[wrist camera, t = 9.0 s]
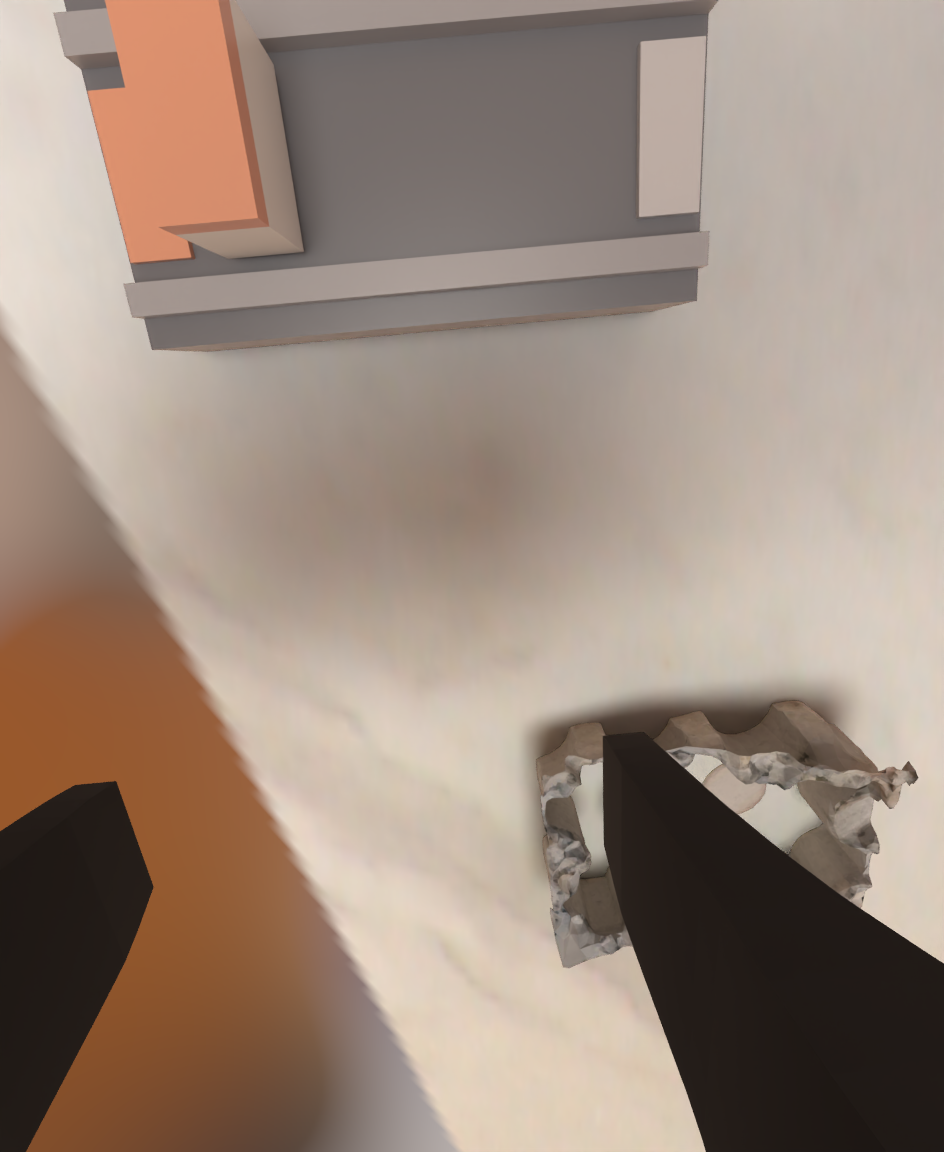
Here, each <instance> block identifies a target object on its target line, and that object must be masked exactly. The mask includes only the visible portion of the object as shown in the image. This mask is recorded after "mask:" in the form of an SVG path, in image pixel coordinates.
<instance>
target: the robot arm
mask: <svg viewBox="0 0 944 1152" xmlns="http://www.w3.org/2000/svg"><path fill="white" fill-rule="evenodd" d="M603 810H604V847H605V851H606V855H607V859H608V863H609V867H610V872H611V876H612V880H613V884H614V888H615V891H616V895H617V899H618V903H619V907H620V911H621V914H622V917H623V920H624V923H625V926H626V928H627V931H628V934H629V937H630V940H631V942H632V945H633V948H634V951H635V953H636V956H637V959H638V962H639V964H640V967H641V970H642V972H643V975H644V978H645V981H646V983H647V986H648V989H649V991H650V994H651V997H652V1000H653V1002H654V1005H655V1008H656V1010H657V1013H658V1016H659V1019H660V1021H661V1024H662V1027H663V1029H664V1032H665V1035H666V1038H667V1040H668V1043H669V1046H670V1048H671V1051H672V1054H673V1057H674V1059H675V1062H676V1065H677V1067H678V1070H679V1073H680V1076H681V1078H682V1081H683V1084H684V1086H685V1089H686V1092H687V1095H688V1098H689V1101H690V1104H691V1107H692V1110H693V1113H694V1116H695V1119H696V1122H697V1125H698V1128H699V1131H700V1134H701V1137H702V1140H703V1143H704V1147H705V1150H706V1152H944V963H942V962H940V961H939V960H937V959H936V958H934V957H933V956H931V955H930V954H928V953H927V952H925V951H923V950H922V949H920V948H919V947H917V946H916V945H914V944H913V943H911V942H910V941H908V940H907V939H905V938H904V937H902V936H901V935H899V934H898V933H896V932H895V931H893V930H892V929H890V928H889V927H887V926H886V925H884V924H883V923H881V922H880V921H878V920H877V919H875V918H874V917H872V916H871V915H869V914H868V913H866V912H865V911H863V910H862V909H860V908H859V907H858V906H856V905H855V904H853V903H852V902H850V901H849V900H848V899H846V898H845V897H843V896H842V895H840V894H839V893H838V892H836V891H835V890H833V889H832V888H831V887H829V886H828V885H827V884H825V883H824V882H823V881H821V880H820V879H819V878H817V877H816V876H815V875H813V874H812V873H811V872H809V871H808V870H807V869H805V868H804V867H803V866H801V865H800V864H799V863H797V862H796V861H795V860H793V859H792V858H791V857H789V856H788V855H787V854H785V853H784V852H783V851H781V850H780V849H779V848H778V847H776V846H775V845H774V844H773V843H771V842H770V841H769V840H768V839H766V838H765V837H764V836H763V835H762V834H760V833H759V832H758V831H757V830H756V829H754V828H753V827H752V826H751V825H750V824H748V823H747V822H746V821H745V820H743V819H742V818H741V817H740V816H739V815H737V814H736V813H735V812H734V811H733V810H731V809H730V808H729V807H728V806H727V805H725V804H724V803H723V802H722V801H721V800H720V799H719V798H717V797H716V796H715V795H714V794H713V793H712V792H710V791H709V790H708V789H707V788H706V787H705V786H704V785H703V784H701V783H700V782H699V781H698V780H697V779H696V778H695V777H694V776H692V775H691V774H690V773H689V772H688V771H687V770H686V769H685V768H684V767H682V766H681V765H680V764H679V763H678V762H677V761H676V760H675V759H674V758H672V757H671V756H670V755H669V754H668V753H667V752H666V751H665V750H664V749H663V748H661V747H660V746H659V745H658V744H657V743H656V742H655V741H654V740H652V739H651V738H650V737H649V736H648V735H647V734H646V733H644V732H638V733H628V734H617V735H606V736H603ZM152 890H153V884H152V881H151V878H150V876H149V873H148V870H147V867H146V864H145V861H144V859H143V856H142V853H141V850H140V847H139V845H138V842H137V839H136V837H135V834H134V831H133V828H132V825H131V822H130V819H129V816H128V813H127V811H126V808H125V805H124V802H123V799H122V797H121V794H120V791H119V788H118V785H117V782H116V781H114V782H103V783H92V784H81V785H75V786H73V787H71V788H69V789H67V790H65V791H64V792H62V793H60V794H59V795H57V796H55V797H53V798H52V799H50V800H48V801H47V802H45V803H43V804H42V805H40V806H39V807H37V808H36V809H34V810H32V811H31V812H30V813H28V814H26V815H25V816H23V817H21V818H20V819H18V820H17V821H15V822H14V823H12V824H11V825H9V826H8V827H6V828H5V829H3V830H2V831H0V1152H26V1150H27V1149H28V1147H29V1145H30V1143H31V1141H32V1139H33V1137H34V1135H35V1133H36V1131H37V1130H38V1128H39V1126H40V1124H41V1122H42V1120H43V1118H44V1116H45V1114H46V1112H47V1111H48V1109H49V1107H50V1105H51V1103H52V1101H53V1099H54V1097H55V1095H56V1094H57V1092H58V1090H59V1088H60V1086H61V1084H62V1082H63V1080H64V1078H65V1076H66V1075H67V1073H68V1071H69V1069H70V1067H71V1065H72V1063H73V1061H74V1059H75V1058H76V1056H77V1054H78V1052H79V1050H80V1048H81V1046H82V1044H83V1042H84V1040H85V1039H86V1037H87V1035H88V1033H89V1031H90V1029H91V1027H92V1025H93V1023H94V1021H95V1019H96V1018H97V1016H98V1014H99V1012H100V1010H101V1007H102V1006H103V1004H104V1002H105V1000H106V998H107V996H108V994H109V992H110V990H111V989H112V986H113V985H114V983H115V981H116V979H117V977H118V975H119V973H120V970H121V969H122V967H123V965H124V963H125V961H126V958H127V956H128V953H129V951H130V948H131V946H132V943H133V941H134V938H135V936H136V933H137V931H138V928H139V926H140V923H141V920H142V917H143V914H144V912H145V909H146V906H147V904H148V901H149V898H150V895H151V893H152Z"/></svg>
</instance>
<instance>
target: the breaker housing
mask: <svg viewBox="0 0 944 1152" xmlns="http://www.w3.org/2000/svg"><path fill="white" fill-rule="evenodd" d="M235 1H236V2H237V4H238V6H239V7H240V9H241V11H242V12H243V14H244V16H245V17H246V19H247V21H248V22H249V24H250V26H251V27H252V29H253V31H254V33H255V34H256V36H257V38H258V39H259V41H260V43H261V44H262V46H263V48H264V49H265V51H266V53H267V54H268V56H269V58H270V59H271V61H272V63H273V64H274V70H275V76H276V82H277V88H278V94H279V101H280V107H281V113H282V119H283V125H284V131H285V138H286V144H287V150H288V156H289V162H290V169H291V175H292V181H293V187H294V193H295V199H296V206H297V212H298V218H299V224H300V230H301V236H302V243H303V249H304V252H300V253H289V254H277V255H266V256H255V257H244V258H233V259H227V258H225V257H223V256H220V255H218V254H216V253H214V252H212V251H209V250H207V249H205V248H203V247H201V246H198V245H196V244H194V243H192V242H190V241H187V240H185V239H183V238H181V237H179V236H176V235H174V234H172V233H170V232H168V231H165V230H163V229H161V228H159V227H158V225H157V221H156V217H155V213H154V208H153V204H152V200H151V196H150V191H149V187H148V183H147V178H146V174H145V170H144V166H143V161H142V157H141V153H140V148H139V144H138V140H137V136H136V131H135V127H134V123H133V119H132V114H131V110H130V106H129V101H128V97H127V93H126V89H125V84H124V80H123V76H122V71H121V67H120V63H119V59H118V54H117V50H116V46H115V42H114V37H113V33H112V29H111V24H110V20H109V16H108V12H107V7H106V3H105V0H64V3H65V7H66V11H67V12H58V13H54V17H55V21H56V25H57V28H58V32H59V36H60V40H61V44H62V48H63V52H64V56H65V57H66V58H68V59H69V60H70V61H71V62H73V63H74V64H75V65H76V66H78V67H79V68H80V69H81V70H82V74H83V78H84V82H85V86H86V90H87V94H88V98H89V102H90V106H91V110H92V114H93V118H94V122H95V126H96V130H97V133H98V137H99V141H100V145H101V149H102V153H103V157H104V161H105V165H106V169H107V173H108V177H109V181H110V185H111V189H112V193H113V197H114V201H115V205H116V209H117V213H118V217H119V221H120V225H121V229H122V233H123V236H124V240H125V244H126V248H127V252H128V256H129V260H130V264H131V268H132V272H133V276H134V280H135V283H128V284H124V288H125V291H126V295H127V299H128V303H129V307H130V311H131V315H132V317H134V318H142V319H144V320H145V324H146V328H147V332H148V336H149V339H150V343H151V347H152V350H173V351H203V352H208V351H219V350H230V349H241V348H252V347H263V346H274V345H285V344H296V343H307V342H318V341H330V340H341V339H352V338H363V337H374V336H385V335H396V334H407V333H418V332H429V331H440V330H451V329H462V328H473V327H484V326H495V325H506V324H517V323H528V322H539V321H550V320H561V319H572V318H583V317H594V316H605V315H616V314H627V313H639V312H650V311H655V310H659V309H663V308H667V307H672V306H676V305H680V304H684V303H688V302H692V301H697V281H698V269H699V268H702V267H704V266H707V265H708V250H709V231H705V232H699V231H700V207H701V182H702V157H703V132H704V108H705V83H706V58H707V34H708V13H709V12H710V11H711V9H712V8H713V7H714V5H715V4H716V3H717V1H718V0H235Z"/></svg>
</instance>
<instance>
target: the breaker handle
mask: <svg viewBox="0 0 944 1152" xmlns="http://www.w3.org/2000/svg"><path fill="white" fill-rule="evenodd" d="M105 3H106V7H107V12H108V16H109V20H110V24H111V29H112V33H113V37H114V42H115V46H116V50H117V54H118V59H119V63H120V67H121V71H122V76H123V80H124V84H125V89H126V93H127V97H128V101H129V106H130V110H131V114H132V119H133V123H134V127H135V131H136V136H137V140H138V144H139V148H140V153H141V157H142V161H143V166H144V170H145V174H146V178H147V183H148V187H149V191H150V196H151V200H152V204H153V208H154V213H155V217H156V221H157V225H158V227H159V228H161V229H163V230H165V231H168V232H170V233H172V234H174V235H176V236H179V237H181V238H183V239H185V240H187V241H190V242H192V243H194V244H196V245H198V246H201V247H203V248H205V249H207V250H209V251H212V252H214V253H216V254H218V255H220V256H223V257H225V258H227V259H233V258H244V257H255V256H266V255H277V254H289V253H300V252H304V249H303V243H302V236H301V230H300V224H299V218H298V212H297V206H296V199H295V193H294V187H293V181H292V175H291V169H290V162H289V156H288V150H287V144H286V138H285V131H284V125H283V119H282V113H281V107H280V101H279V94H278V88H277V82H276V76H275V70H274V64H273V63H272V61H271V59H270V58H269V56H268V54H267V53H266V51H265V49H264V48H263V46H262V44H261V43H260V41H259V39H258V38H257V36H256V34H255V33H254V31H253V29H252V27H251V26H250V24H249V22H248V21H247V19H246V17H245V16H244V14H243V12H242V11H241V9H240V7H239V6H238V4H237V2H236V1H235V0H105Z"/></svg>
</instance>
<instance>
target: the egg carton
mask: <svg viewBox="0 0 944 1152" xmlns="http://www.w3.org/2000/svg"><path fill="white" fill-rule="evenodd" d="M603 736H606V734H605V732H604V730H603V728H602V725H601V723H584V724H578V725H575V726H572V727H570V728H569V731H568V734H567V737H566V739H565V741H564V742H563V744H562V745H561V746H560V747H559V748H557V749H556V750H555V751H553V752H552V753H549V754H547V755H545V756H542V757H540V758H538V759H536V767H537V777H538V781H539V785H540V790H541V794H542V795H541V810H542V816H543V821H544V826H545V830H546V833H547V835H546V836H544V838H543V852H544V853H543V854H544V858H545V862H546V866H547V872H548V877H549V882H550V889H551V897H552V904H553V909H550V914H551V920H552V924H553V929H554V934H555V939H556V944H557V947H558V951H559V954H560V958H561V961H562V965H563V967H565V968H571V967H573V966H575V965H577V964H580V963H582V962H584V961H587V960H589V959H592V958H596V957H599V956H603V955H609V954H613V953H614V952H616V951H617V950H619V949H620V948H621V947H626V946H632V947H633V945H632V942H631V940H630V937H629V934H628V931H627V928H626V926H625V923H624V920H623V917H622V914H621V911H620V907H619V903H618V899H617V895H616V891H615V888H614V884H613V880H612V876H611V872H610V867H608V870H607V872H606V874H605V876H603V877H597V878H589V879H579V878H580V875H581V874H582V873H584V872H586V871H587V870H589V867H590V865H591V855H590V852H589V850H588V849H587V847H586V845H585V840H584V837H583V834H582V831H581V827H580V823H579V820H578V816H577V812H576V808H575V805H574V802H573V799H572V797H571V796H570V794H571V793H572V792H573V790H574V789H575V787H577V786H579V785H581V779H580V773H581V768H582V766H583V765H591V764H596V763H599V762H603ZM653 740H654V741H655V742H656V743H657V744H658V745H659V746H660V747H661V748H663V749H664V750H665V751H666V752H667V753H668V754H669V755H670V756H671V757H672V758H674V759H675V760H676V761H677V762H678V763H679V764H680V765H681V766H682V767H684V768H685V767H687V766H688V765H689V764H690V763H691V762H692V761H693V758H694V755H695V754H702V755H708V756H713V757H715V758H717V759H719V760H720V761H721V762H722V763H723V764H721V765H720V766H718V767H717V768H715V769H714V770H712V771H711V772H710V773H709V774H708V775H707V776H706V778H705V780H704V781H703V783H702V784H703V785H704V786H705V787H706V788H707V789H708V790H709V791H710V792H712V793H713V794H714V795H715V796H716V797H717V798H719V799H720V800H721V801H722V802H723V803H724V804H725V805H727V806H728V807H729V808H730V809H731V810H733V811H734V812H735V813H736V814H740V813H743V812H745V811H747V810H749V809H751V808H753V807H754V806H755V805H756V804H757V803H758V802H759V801H760V800H761V798H762V797H763V795H764V794H765V790H766V784H767V783H768V784H773V785H775V784H777V785H778V786H780V787H781V788H782V789H784V790H786V789H790V788H791V787H792V786H793V785H794V784H796V783H797V785H798V789H799V791H800V794H801V795H802V797H803V798H804V799H805V800H806V802H807V803H808V804H809V806H810V807H811V808H812V809H813V811H814V812H815V813H816V815H817V816H818V817H819V818H820V820H821V821H822V822H823V823H822V825H821V826H820V827H818V828H815V829H813V830H810V831H808V832H806V833H805V834H803V835H802V836H800V837H799V838H798V839H797V840H796V842H795V843H794V845H793V847H792V850H791V852H790V853H789V855H788V856H789V857H791V858H792V859H793V860H795V861H796V862H797V863H799V864H800V865H801V866H803V867H804V868H805V869H807V870H808V871H809V872H811V873H812V874H813V875H815V876H816V877H817V878H819V879H820V880H821V881H823V882H824V883H825V884H827V885H828V886H829V887H831V888H832V889H833V890H835V891H836V892H838V893H839V894H840V895H842V896H843V897H845V898H846V899H848V900H849V901H850V902H852V903H853V904H855V905H856V906H858V907H859V908H861V907H862V903H863V899H864V894H865V891H866V890H867V889H868V888H871V887H872V883H871V880H870V877H869V863H870V858H871V855H872V853H876V854H878V853H879V842H878V838H877V835H876V833H875V831H874V829H873V827H872V825H871V820H870V818H871V814H872V809H873V802H874V799H875V800H876V801H879V800H881V799H882V800H883V801H884V803H885V804H886V805H887V806H888V807H889V809H892V808H894V807H895V805H896V804H897V802H898V800H899V796H900V792H901V786H902V784H903V783H905V782H907V783H908V785H909V786H910V784H911V783H913V784H914V783H915V781H916V780H917V779H918V776H917V774H916V771H915V769H914V768H913V767H912V765H911V764H910V762H909V761H908V762H907V763H906V765H905V766H904V767H903V769H902V770H898V769H896V768H895V767H888V768H886V769H885V770H882V771H878V769H877V767H876V766H875V764H874V763H873V762H872V761H871V760H870V759H869V758H868V757H867V756H865V754H864V753H863V752H862V750H861V749H860V748H859V747H858V746H856V745H855V744H854V743H853V742H852V741H851V740H850V739H849V738H848V737H847V736H846V735H845V734H844V733H843V732H842V731H841V730H840V729H839V728H838V727H836V726H835V725H834V724H828V723H827V722H826V721H825V720H824V719H823V718H822V717H820V716H819V715H818V714H817V713H816V712H814V711H813V710H812V709H810V708H809V707H808V706H807V705H806V704H804V703H803V702H800V701H784V702H779V703H774V704H772V705H771V707H770V710H769V712H768V714H767V715H766V716H765V717H764V719H763V720H762V721H761V722H760V723H759V724H758V725H756V726H755V727H754V728H752V729H749V730H747V731H744V732H742V733H738V734H723V733H721V732H718V731H716V730H714V728H713V727H712V725H711V724H710V723H709V721H708V720H707V718H706V716H705V715H704V714H703V712H702V711H696V712H691V713H688V714H685V715H681V716H678V717H672V718H670V719H669V721H668V723H667V725H666V727H665V729H664V730H663V731H662V733H661V734H660V735H659V736H658V737H656V738H655V739H653Z"/></svg>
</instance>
